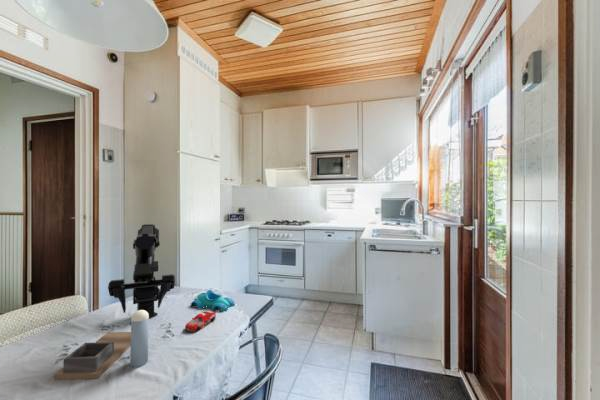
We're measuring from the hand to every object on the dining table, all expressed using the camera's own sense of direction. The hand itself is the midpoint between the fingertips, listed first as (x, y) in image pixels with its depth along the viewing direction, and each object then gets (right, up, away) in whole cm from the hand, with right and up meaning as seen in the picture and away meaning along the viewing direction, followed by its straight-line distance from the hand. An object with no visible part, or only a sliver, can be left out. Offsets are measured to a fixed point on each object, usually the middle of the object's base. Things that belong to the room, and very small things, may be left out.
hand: (141, 309), depth 83 cm
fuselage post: (+3, -13, -6) cm, 15 cm away
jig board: (-10, -13, -2) cm, 16 cm away
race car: (+12, -14, +18) cm, 25 cm away
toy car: (+11, -14, +36) cm, 40 cm away
